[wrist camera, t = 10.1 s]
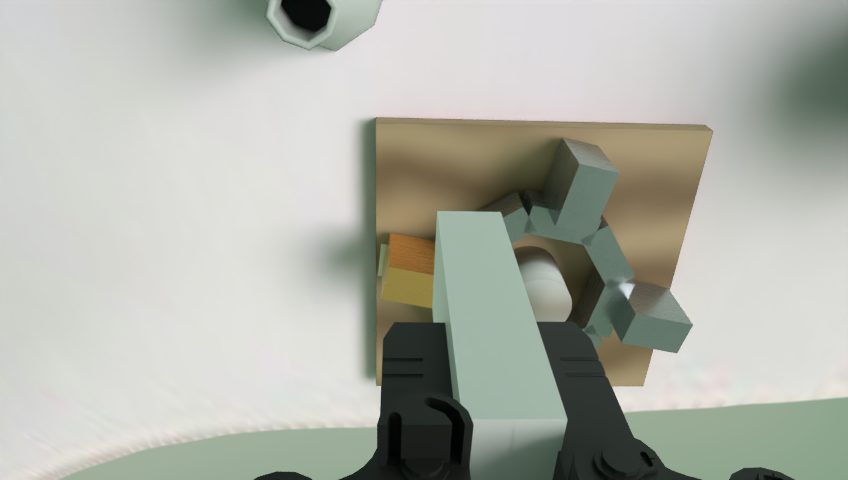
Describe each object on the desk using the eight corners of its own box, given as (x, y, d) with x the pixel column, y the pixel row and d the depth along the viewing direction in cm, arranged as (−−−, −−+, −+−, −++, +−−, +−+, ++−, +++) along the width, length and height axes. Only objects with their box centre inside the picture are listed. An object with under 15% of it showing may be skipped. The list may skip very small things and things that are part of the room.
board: (376, 117, 40) (373, 148, 35) (705, 125, 41) (747, 156, 36) (376, 375, 51) (374, 427, 46) (638, 376, 52) (663, 427, 47)
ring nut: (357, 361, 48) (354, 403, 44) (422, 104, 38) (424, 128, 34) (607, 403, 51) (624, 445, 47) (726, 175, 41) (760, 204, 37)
